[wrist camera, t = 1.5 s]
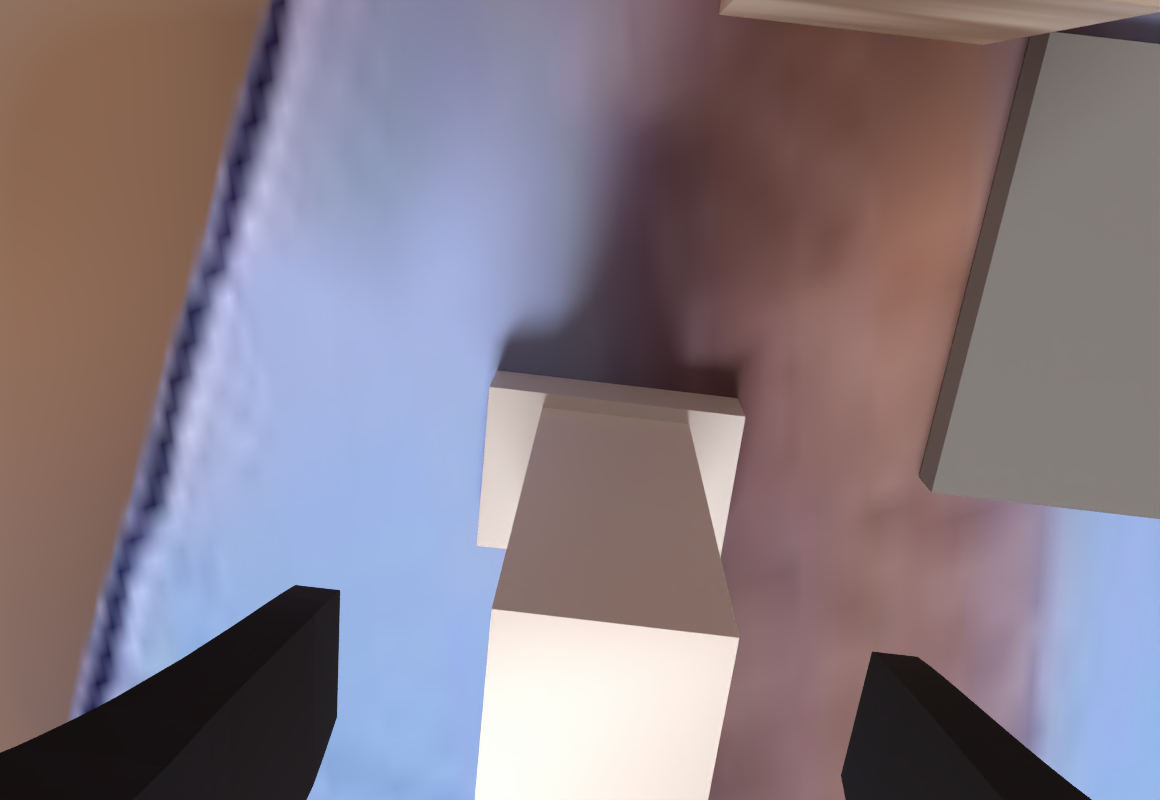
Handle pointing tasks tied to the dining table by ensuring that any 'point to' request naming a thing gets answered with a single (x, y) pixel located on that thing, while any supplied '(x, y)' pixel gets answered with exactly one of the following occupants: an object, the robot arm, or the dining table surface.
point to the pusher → (606, 589)
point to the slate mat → (1064, 295)
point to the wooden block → (944, 16)
